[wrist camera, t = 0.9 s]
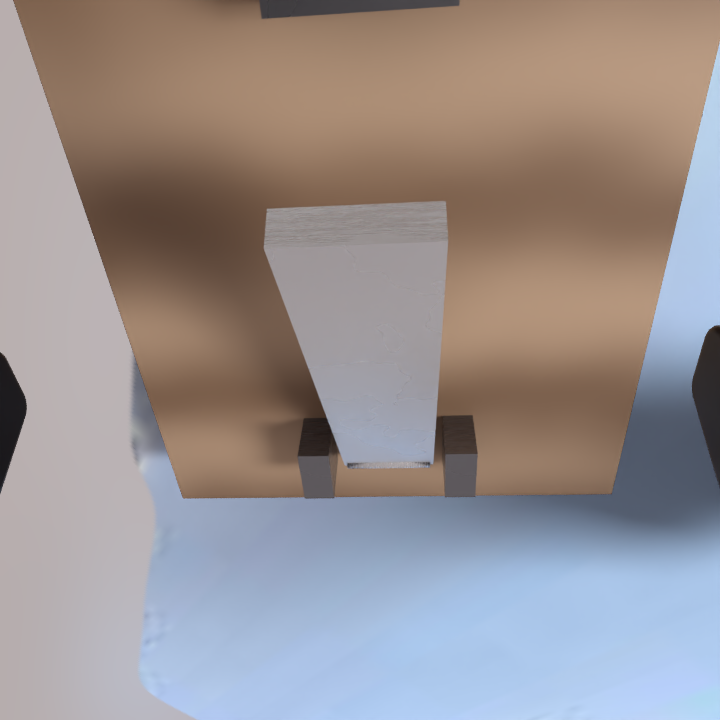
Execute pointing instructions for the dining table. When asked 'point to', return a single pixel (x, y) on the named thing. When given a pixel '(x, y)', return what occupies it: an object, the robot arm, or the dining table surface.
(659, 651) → the dining table surface
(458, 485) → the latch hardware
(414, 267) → the strap
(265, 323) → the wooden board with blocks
